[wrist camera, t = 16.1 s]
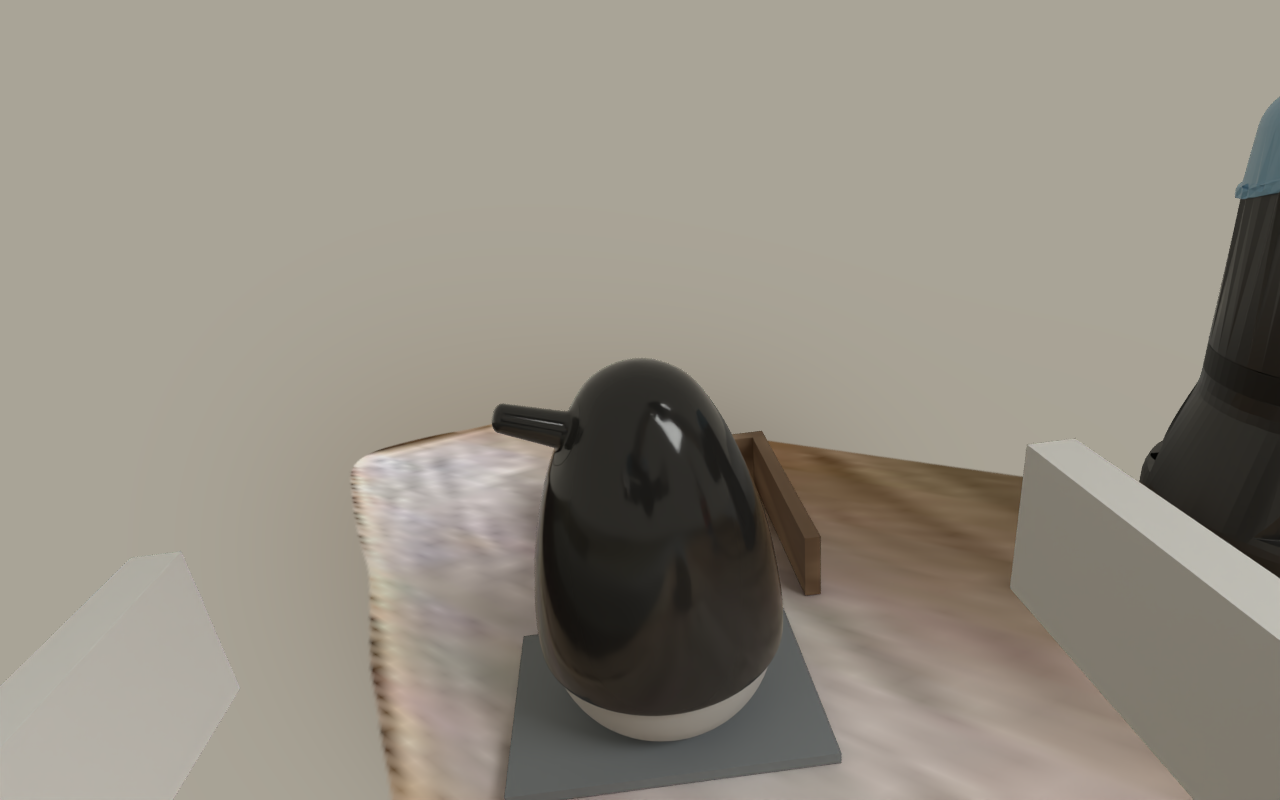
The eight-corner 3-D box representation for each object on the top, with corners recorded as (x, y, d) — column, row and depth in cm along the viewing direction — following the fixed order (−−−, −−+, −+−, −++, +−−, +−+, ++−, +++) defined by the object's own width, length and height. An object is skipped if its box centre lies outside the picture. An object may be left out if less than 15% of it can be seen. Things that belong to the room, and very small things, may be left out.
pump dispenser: (538, 635, 35) (483, 344, 29) (738, 591, 37) (723, 308, 31) (560, 820, 26) (486, 446, 20) (826, 750, 27) (828, 386, 22)
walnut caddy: (763, 477, 49) (761, 430, 47) (820, 593, 37) (820, 536, 35) (566, 500, 48) (559, 455, 47) (559, 626, 36) (549, 570, 35)
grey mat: (781, 611, 36) (781, 603, 36) (841, 762, 27) (841, 753, 27) (525, 644, 35) (523, 636, 35) (506, 807, 27) (504, 797, 27)
